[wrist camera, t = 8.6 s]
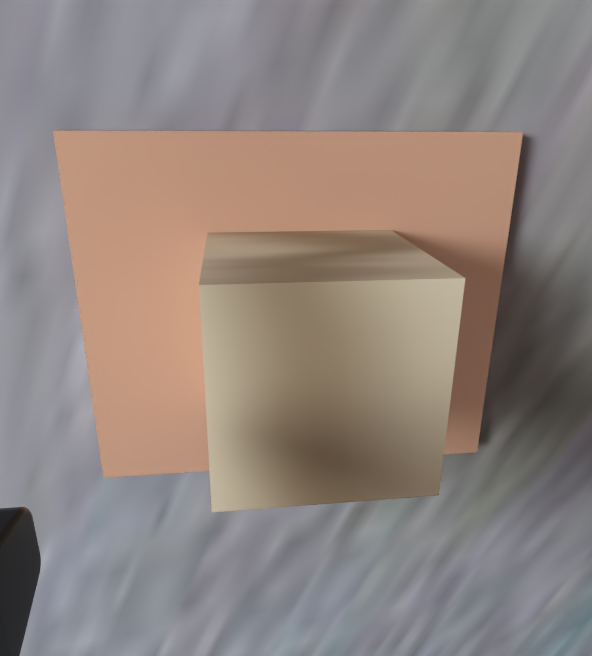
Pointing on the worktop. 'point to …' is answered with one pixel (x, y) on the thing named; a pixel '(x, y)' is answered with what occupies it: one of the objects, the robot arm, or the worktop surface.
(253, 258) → the beige cube
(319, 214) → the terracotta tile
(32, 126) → the worktop surface
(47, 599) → the worktop surface
